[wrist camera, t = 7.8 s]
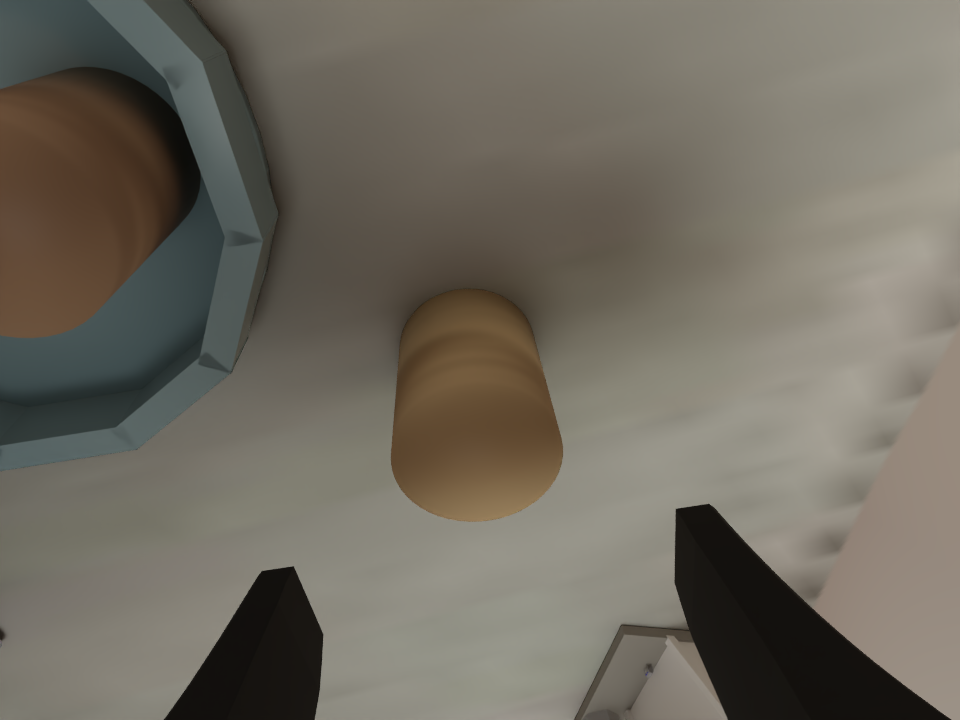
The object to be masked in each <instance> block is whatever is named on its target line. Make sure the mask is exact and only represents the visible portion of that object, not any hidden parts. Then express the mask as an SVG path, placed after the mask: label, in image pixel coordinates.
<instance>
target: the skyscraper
mask: <svg viewBox="0 0 960 720" xmlns="http://www.w3.org/2000/svg"><path fill="white" fill-rule="evenodd" d="M575 720H728V719H727V717H726V714H725V712H724V710H723V708H722V705H721V703H720V701H719V698H718V696H717V694H716V692H715V689H714V687H713V685H712V683H711V680H710V678H709V676H708V673H707V671H706V669H705V666H704V664H703V662H702V660H701V657H700V655H699V653H698V650H697V648H696V646H695V643H694V641H693V639H692V636H691V633H690V631H683V630H672V629H660V628H648V627H636V626H625V625H621V627H620V629H619V631H618V633H617V636H616V638H615V640H614V642H613V644H612V646H611V648H610V650H609V652H608V654H607V656H606V658H605V660H604V662H603V664H602V666H601V668H600V670H599V672H598V674H597V676H596V678H595V680H594V682H593V684H592V686H591V688H590V690H589V692H588V694H587V696H586V698H585V700H584V702H583V704H582V706H581V708H580V710H579V712H578V714H577V716H576V718H575Z"/></svg>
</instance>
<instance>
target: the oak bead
mask: <svg viewBox="0 0 960 720" xmlns="http://www.w3.org/2000/svg"><path fill="white" fill-rule="evenodd" d="M562 457H563V445H562V439H561V435H560V431H559V428H558V424H557V420H556V417H555V413H554V409H553V406H552V402H551V398H550V395H549V391H548V387H547V383H546V380H545V376H544V372H543V369H542V365H541V361H540V358H539V354H538V350H537V347H536V343H535V339H534V335H533V332H532V329H531V326H530V324H529V322H528V320H527V318H526V317H525V315H524V314H523V313H522V311H521V310H520V309H519V308H518V307H517V306H516V305H514V304H513V303H512V302H510V301H509V300H507V299H506V298H504V297H502V296H500V295H498V294H495V293H493V292H489V291H485V290H479V289H459V290H453V291H448V292H445V293H442V294H440V295H437V296H435V297H433V298H431V299H430V300H428V301H427V302H425V303H424V304H422V305H421V306H420V307H419V308H418V309H417V310H416V311H415V312H414V313H413V314H412V315H411V317H410V318H409V320H408V321H407V323H406V325H405V327H404V329H403V332H402V336H401V340H400V349H399V362H398V374H397V387H396V399H395V412H394V424H393V436H392V449H391V465H392V470H393V474H394V477H395V479H396V481H397V483H398V485H399V487H400V488H401V490H402V491H403V492H404V493H405V495H406V496H407V497H408V498H409V499H410V500H411V501H412V502H414V503H415V504H417V505H418V506H419V507H421V508H423V509H424V510H426V511H428V512H430V513H432V514H435V515H437V516H440V517H444V518H447V519H452V520H457V521H468V522H476V521H488V520H494V519H499V518H502V517H506V516H509V515H511V514H514V513H516V512H519V511H521V510H522V509H524V508H526V507H528V506H529V505H531V504H532V503H534V502H535V501H537V500H538V499H539V498H540V497H541V496H542V495H543V494H544V493H545V492H546V491H547V490H548V489H549V488H550V486H551V485H552V483H553V482H554V481H555V479H556V477H557V475H558V473H559V470H560V467H561V464H562Z"/></svg>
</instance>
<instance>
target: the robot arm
mask: <svg viewBox="0 0 960 720" xmlns="http://www.w3.org/2000/svg"><path fill="white" fill-rule="evenodd" d="M675 585H676V589H677V592H678V595H679V598H680V602H681V605H682V608H683V611H684V615H685V618H686V621H687V624H688V627H689V630H690V633H691V636H692V639H693V641H694V643H695V646H696V648H697V650H698V653H699V655H700V657H701V660H702V662H703V664H704V666H705V669H706V671H707V673H708V676H709V678H710V680H711V683H712V685H713V687H714V689H715V692H716V694H717V696H718V698H719V701H720V703H721V705H722V708H723V710H724V712H725V714H726V717H727V719H728V720H951V719H950V718H948V717H947V716H945V715H944V714H942V713H941V712H940V711H938V710H937V709H936V708H934V707H933V706H931V705H930V704H929V703H927V702H926V701H925V700H923V699H922V698H921V697H919V696H918V695H917V694H915V693H914V692H912V691H911V690H910V689H908V688H907V687H906V686H904V685H903V684H902V683H901V682H899V681H898V680H897V679H895V678H894V677H893V676H892V675H890V674H889V673H888V672H886V671H885V670H884V669H883V668H881V667H880V666H879V665H877V664H876V663H875V662H874V661H873V660H871V659H870V658H869V657H867V656H866V655H865V654H864V653H863V652H862V651H860V650H859V649H858V648H857V647H855V646H854V645H853V644H852V643H851V642H850V641H848V640H847V639H846V638H845V637H844V636H843V635H842V634H840V633H839V632H838V631H837V630H836V629H835V628H833V627H832V626H831V625H830V624H829V623H828V622H827V621H826V620H824V619H823V618H822V617H821V616H820V615H819V614H818V613H817V612H816V611H815V610H813V609H812V608H811V607H810V606H809V605H808V604H807V603H806V602H805V601H804V600H803V599H802V598H801V597H800V596H799V595H798V594H796V593H795V592H794V591H793V590H792V589H791V588H790V587H789V586H788V585H787V584H786V583H785V582H784V581H783V580H782V579H781V578H780V577H779V576H778V575H777V574H776V573H775V572H774V571H773V570H772V569H771V568H770V567H769V566H768V565H767V564H766V563H765V562H764V561H763V560H762V559H761V558H760V557H759V556H758V555H757V554H756V553H755V552H754V551H753V550H752V549H751V548H750V547H749V546H748V544H747V543H746V542H745V541H744V540H743V539H742V538H741V537H740V536H739V535H738V534H737V533H736V532H735V530H734V529H733V528H732V527H731V526H730V525H729V524H728V523H727V522H726V520H725V519H724V518H723V517H722V516H721V515H720V514H719V513H718V511H717V510H716V509H715V508H714V507H712V506H711V505H710V504H705V505H699V506H692V507H685V508H679V509H676V532H675ZM1 645H2V642H1V640H0V647H1ZM322 648H323V633H322V630H321V628H320V626H319V624H318V621H317V619H316V617H315V614H314V612H313V610H312V607H311V605H310V603H309V601H308V598H307V596H306V594H305V591H304V589H303V587H302V584H301V582H300V580H299V578H298V575H297V573H296V571H295V568H294V566H293V567H286V568H280V569H273V570H266V571H262V572H261V573H260V574H259V576H258V577H257V579H256V580H255V582H254V583H253V585H252V587H251V588H250V590H249V591H248V593H247V595H246V596H245V598H244V600H243V601H242V603H241V605H240V606H239V608H238V609H237V611H236V613H235V614H234V616H233V617H232V619H231V621H230V622H229V624H228V625H227V627H226V629H225V630H224V632H223V633H222V635H221V637H220V638H219V640H218V641H217V643H216V644H215V646H214V648H213V649H212V651H211V652H210V654H209V655H208V657H207V658H206V660H205V661H204V663H203V664H202V666H201V667H200V669H199V670H198V672H197V673H196V675H195V676H194V678H193V679H192V681H191V682H190V684H189V685H188V687H187V688H186V690H185V691H184V693H183V694H182V695H181V697H180V698H179V700H178V701H177V702H176V704H175V705H174V707H173V708H172V709H171V711H170V712H169V714H168V715H167V716H166V718H165V719H164V720H315V714H316V708H317V703H318V697H319V691H320V679H321V666H322Z"/></svg>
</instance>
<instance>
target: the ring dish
mask: <svg viewBox="0 0 960 720" xmlns="http://www.w3.org/2000/svg"><path fill="white" fill-rule="evenodd" d="M76 67H97V68H103V69H109V70H112V71H115V72H119V73H122V74H124V75H127V76H129V77H131V78H133V79H135V80H137V81H139V82H141V83H142V84H144V85H146V86H147V87H149V88H150V89H151V90H153V91H154V92H156V93H157V94H158V95H159V96H160V97H161V98H163V99H164V100H165V101H166V102H167V103H168V104H169V105H170V106H171V107H172V108H173V110H174V111H175V112H176V113H177V114H178V116H179V117H180V118H181V121H182V123H183V126H184V129H185V132H186V134H187V137H188V140H189V142H190V145H191V148H192V150H193V153H194V156H195V158H196V161H197V164H198V167H199V169H200V172H201V181H200V189H199V193H198V197H197V200H196V202H195V204H194V207H193V208H192V210H191V211H190V213H189V215H188V216H187V217H186V218H185V219H184V220H183V221H182V222H181V224H180V225H179V226H178V227H177V228H176V229H175V230H174V231H173V232H172V233H171V234H170V235H169V236H168V237H167V238H166V239H165V240H164V241H163V243H162V244H161V245H160V246H159V247H158V248H157V249H156V250H155V251H154V252H153V253H152V254H151V255H150V256H149V257H148V258H147V259H146V260H145V261H144V263H143V264H142V265H141V266H140V267H139V268H138V269H137V270H136V271H135V272H134V273H133V274H132V275H131V276H130V277H129V278H128V279H127V280H126V282H125V283H124V284H123V285H122V286H121V287H120V288H119V289H118V290H117V291H116V292H115V293H114V294H113V295H112V296H111V297H110V298H109V299H108V301H107V302H106V303H105V304H104V305H103V306H102V307H101V308H100V309H99V310H98V311H97V312H96V313H95V314H94V315H93V316H92V317H91V318H89V319H88V320H87V321H86V322H84V323H83V324H81V325H79V326H77V327H76V328H74V329H72V330H69V331H66V332H64V333H61V334H57V335H52V336H48V337H38V338H16V337H8V336H1V335H0V471H4V470H10V469H17V468H23V467H29V466H36V465H42V464H48V463H55V462H61V461H67V460H74V459H80V458H86V457H93V456H99V455H105V454H112V453H118V452H125V451H131V450H137V449H138V448H139V447H140V446H142V445H143V444H144V443H145V442H146V441H148V440H149V439H150V438H151V437H153V436H154V435H155V434H156V433H158V432H159V431H160V430H161V429H162V428H164V427H165V426H166V425H167V424H169V423H170V422H171V421H172V420H174V419H175V418H176V417H177V416H178V415H180V414H181V413H182V412H183V411H185V410H186V409H187V408H188V407H190V406H191V405H192V404H193V403H194V402H196V401H197V400H198V399H199V398H201V397H202V396H203V395H204V394H206V393H207V392H208V391H209V390H210V389H212V388H213V387H214V386H215V385H217V384H218V383H219V382H220V381H222V380H223V379H224V378H225V377H227V376H228V375H229V374H231V372H232V370H233V368H234V366H235V364H236V362H237V360H238V358H239V356H240V354H241V352H242V350H243V347H244V345H245V343H246V341H247V339H248V335H249V331H250V327H251V323H252V319H253V315H254V311H255V307H256V303H257V299H258V296H259V293H260V290H261V287H262V284H263V281H264V278H265V275H266V272H267V268H268V262H269V256H270V251H271V245H272V239H273V235H274V230H275V226H276V222H277V218H278V216H279V213H278V211H277V208H276V205H275V202H274V199H273V195H272V190H271V182H270V173H269V167H268V163H267V159H266V155H265V151H264V147H263V143H262V139H261V135H260V131H259V129H258V126H257V123H256V121H255V118H254V116H253V113H252V110H251V108H250V105H249V102H248V100H247V97H246V95H245V92H244V90H243V88H242V86H241V84H240V82H239V81H238V79H237V77H236V75H235V73H234V71H233V69H232V67H231V64H230V61H229V58H228V55H227V51H226V50H225V49H224V48H223V47H222V46H221V45H220V43H219V42H218V41H217V40H216V39H215V38H214V37H213V35H212V34H211V32H210V31H209V29H208V28H207V26H206V25H205V23H204V22H203V20H202V19H201V17H200V15H199V14H198V12H197V11H196V10H195V9H194V8H193V6H192V5H191V4H190V3H189V1H188V0H0V89H2V88H5V87H8V86H12V85H15V84H18V83H22V82H25V81H28V80H32V79H35V78H38V77H41V76H45V75H48V74H51V73H55V72H58V71H61V70H65V69H69V68H76Z"/></svg>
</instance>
